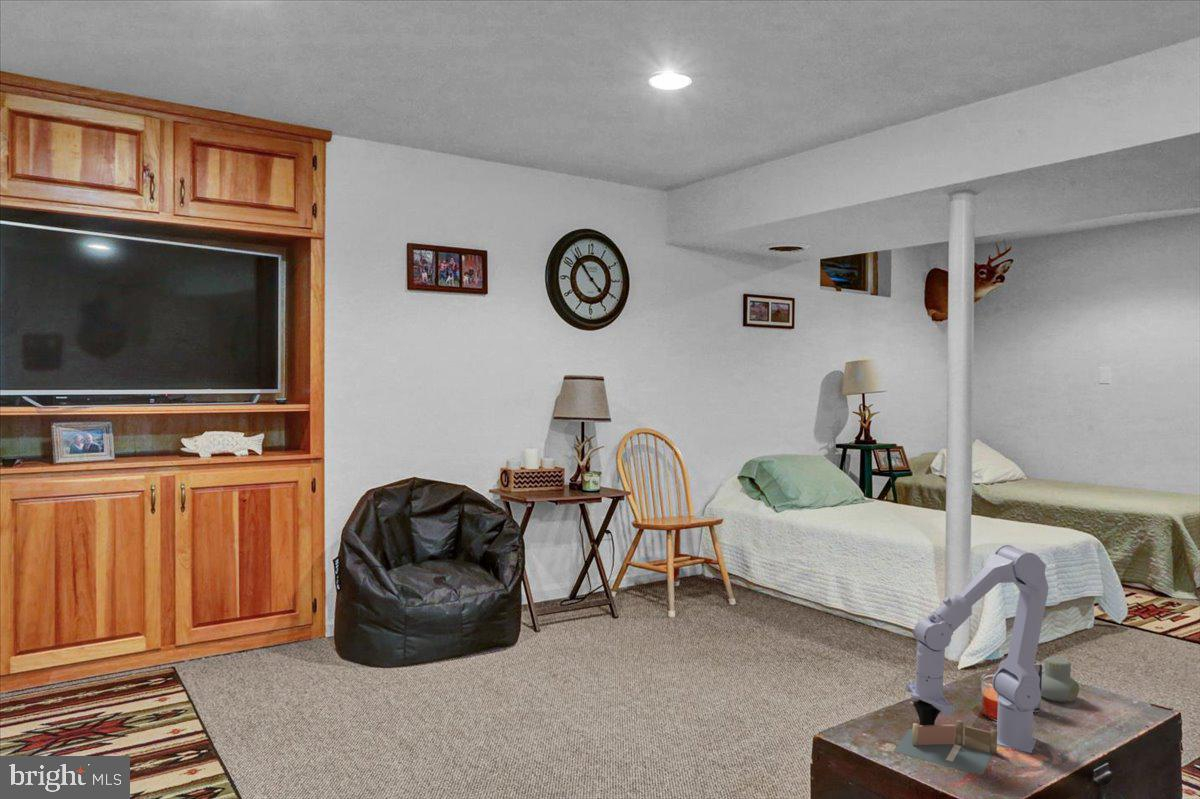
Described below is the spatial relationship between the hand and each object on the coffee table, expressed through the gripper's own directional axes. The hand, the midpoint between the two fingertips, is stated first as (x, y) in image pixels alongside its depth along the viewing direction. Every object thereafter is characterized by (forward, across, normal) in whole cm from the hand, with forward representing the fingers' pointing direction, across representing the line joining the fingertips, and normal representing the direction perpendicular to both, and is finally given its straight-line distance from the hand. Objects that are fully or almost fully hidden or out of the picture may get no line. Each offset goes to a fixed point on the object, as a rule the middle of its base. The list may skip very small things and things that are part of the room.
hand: (926, 734), depth 188 cm
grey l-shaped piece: (+2, -20, +51) cm, 55 cm away
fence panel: (+2, +1, +1) cm, 2 cm away
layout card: (+2, +4, +2) cm, 5 cm away
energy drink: (+2, -15, +38) cm, 41 cm away
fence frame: (+2, +4, +9) cm, 10 cm away
